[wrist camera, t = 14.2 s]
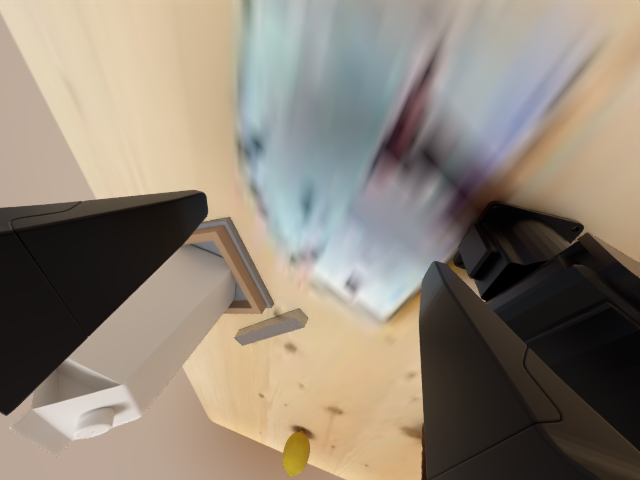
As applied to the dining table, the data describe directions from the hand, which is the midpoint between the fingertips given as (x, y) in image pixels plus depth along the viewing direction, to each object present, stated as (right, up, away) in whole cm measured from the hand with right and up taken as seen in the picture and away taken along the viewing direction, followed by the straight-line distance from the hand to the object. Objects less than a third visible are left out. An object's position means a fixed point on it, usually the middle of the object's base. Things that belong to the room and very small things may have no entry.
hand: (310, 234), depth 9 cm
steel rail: (-7, -13, +27) cm, 31 cm away
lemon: (-4, -44, +46) cm, 63 cm away
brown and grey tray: (-14, -4, +23) cm, 28 cm away
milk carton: (-14, -4, +23) cm, 27 cm away
